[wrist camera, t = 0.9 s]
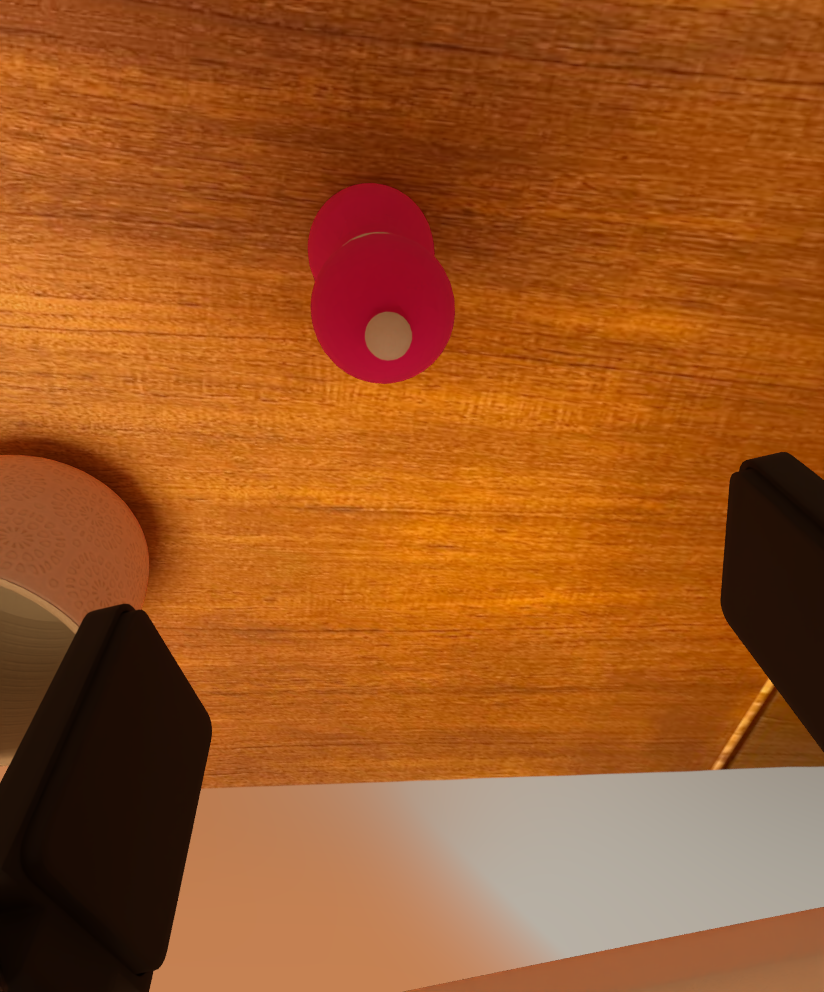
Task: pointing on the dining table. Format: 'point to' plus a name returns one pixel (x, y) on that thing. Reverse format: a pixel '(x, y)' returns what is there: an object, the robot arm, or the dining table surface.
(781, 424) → the dining table surface
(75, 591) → the planter
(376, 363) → the pepper mill
